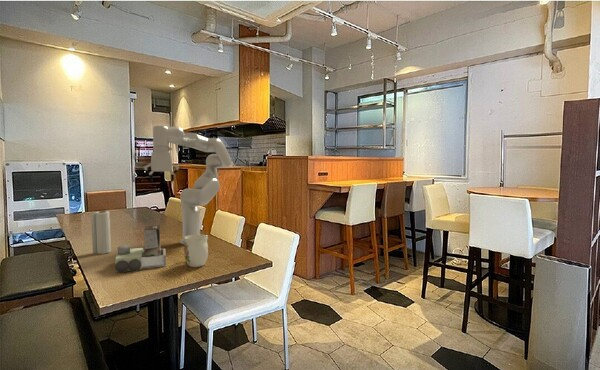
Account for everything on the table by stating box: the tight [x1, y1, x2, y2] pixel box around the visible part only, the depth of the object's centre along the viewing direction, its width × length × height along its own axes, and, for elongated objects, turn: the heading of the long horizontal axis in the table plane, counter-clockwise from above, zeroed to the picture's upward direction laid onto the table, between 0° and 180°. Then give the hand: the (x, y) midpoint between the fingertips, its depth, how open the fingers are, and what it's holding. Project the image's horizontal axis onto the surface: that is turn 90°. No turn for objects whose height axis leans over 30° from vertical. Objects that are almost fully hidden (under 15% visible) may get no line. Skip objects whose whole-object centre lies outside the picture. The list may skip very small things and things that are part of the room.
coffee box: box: [143, 225, 161, 257], centre depth 155 cm, size 9×6×16 cm
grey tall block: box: [90, 210, 112, 255], centre depth 172 cm, size 7×6×21 cm
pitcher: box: [183, 233, 209, 268], centre depth 155 cm, size 11×18×14 cm, turn 36°
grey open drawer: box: [141, 247, 167, 270], centre depth 156 cm, size 10×13×5 cm
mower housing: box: [114, 244, 144, 274], centre depth 152 cm, size 10×18×9 cm, turn 22°
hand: (162, 182), depth 175 cm, fingers open, 9 cm apart
